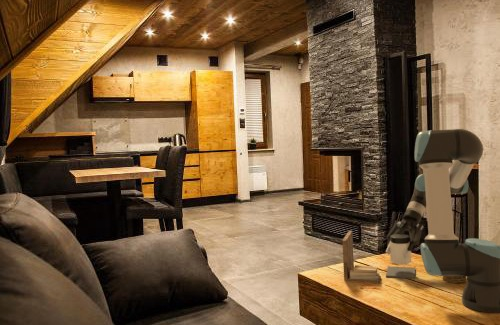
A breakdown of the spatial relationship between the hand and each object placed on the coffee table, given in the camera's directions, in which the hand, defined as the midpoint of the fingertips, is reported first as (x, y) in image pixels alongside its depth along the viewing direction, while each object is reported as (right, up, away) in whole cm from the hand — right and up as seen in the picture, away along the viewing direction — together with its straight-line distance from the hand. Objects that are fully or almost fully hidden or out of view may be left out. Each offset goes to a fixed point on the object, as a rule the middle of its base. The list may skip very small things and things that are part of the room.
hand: (395, 254), depth 192 cm
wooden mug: (+22, -9, -13) cm, 27 cm away
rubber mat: (+3, -9, +2) cm, 10 cm away
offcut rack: (-13, -10, +3) cm, 17 cm away
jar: (+3, -4, +2) cm, 6 cm away
